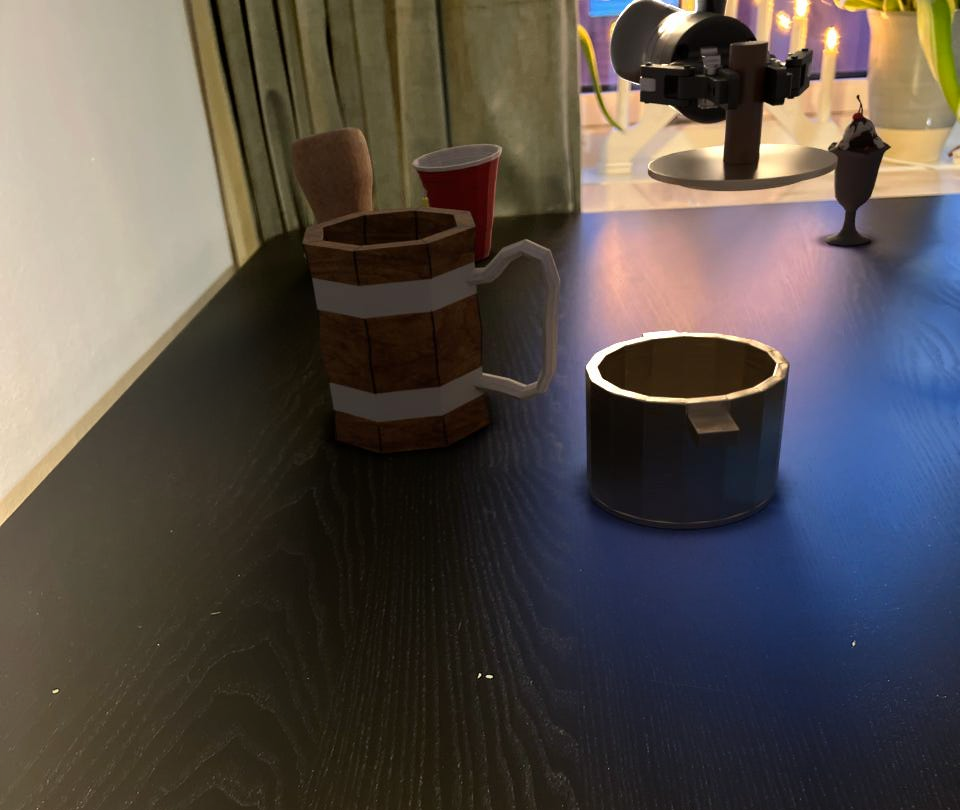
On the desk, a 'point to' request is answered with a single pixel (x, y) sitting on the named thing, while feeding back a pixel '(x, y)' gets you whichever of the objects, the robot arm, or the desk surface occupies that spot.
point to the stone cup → (334, 172)
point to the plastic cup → (464, 185)
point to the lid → (744, 142)
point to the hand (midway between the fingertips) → (757, 90)
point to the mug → (413, 325)
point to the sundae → (855, 173)
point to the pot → (684, 428)
